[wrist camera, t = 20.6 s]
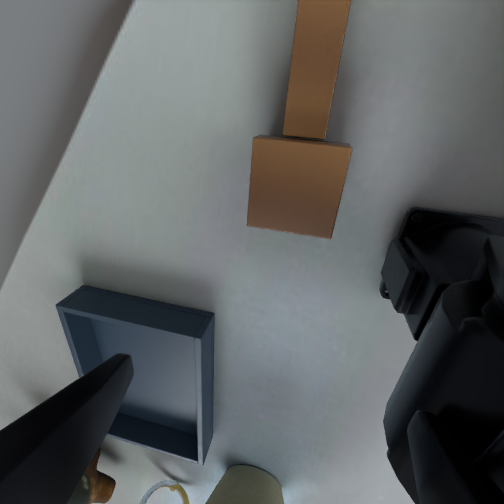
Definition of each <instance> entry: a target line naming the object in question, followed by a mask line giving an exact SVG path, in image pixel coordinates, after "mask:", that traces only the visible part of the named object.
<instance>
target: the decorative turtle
mask: <svg viewBox="0 0 504 504" xmlns="http://www.w3.org/2000/svg"><path fill="white" fill-rule="evenodd" d="M99 456H100V447H99V449H98V450H97V452H96V454H95V456H94V458H93V459H92V461H91V463H90V465H89V466H88V468H87V470H86V472H85V473H84V475H83V477H82V479H81V481H80V482H79V484H78V486H77V488H76V489H75V491H74V493H73V495H72V496H71V498H70V500H69V502H68V504H91V503H106V502H108V501H109V500H110V498H111V497H112V494H113V491H114V488H115V485H116V482H115V480H114V479H113V478H111V477H110V476H108V475H106V474H104V473H102V472H100V471H98V470H97V463H98V459H99Z"/></svg>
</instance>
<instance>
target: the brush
mask: <svg viewBox="0 0 504 504" xmlns="http://www.w3.org/2000/svg"><path fill="white" fill-rule="evenodd" d="M350 3H351V0H298V8H297V16H296V24H295V33H294V41H293V50H292V58H291V67H290V75H289V83H288V92H287V100H286V109H285V117H284V125H283V135H284V136H294V137H303V138H313V139H323V140H324V139H325V136H326V131H327V126H328V120H329V115H330V110H331V105H332V99H333V94H334V89H335V83H336V78H337V73H338V67H339V62H340V57H341V51H342V46H343V41H344V35H345V30H346V25H347V19H348V14H349V9H350ZM351 153H352V147H351V146H350V144H346V143H336V142H326V141H317V140H307V139H297V138H288V137H278V136H268V135H258V136H256V137H254V138H253V147H252V161H251V174H250V188H249V202H248V216H247V226H250V227H257V228H263V229H269V230H276V231H282V232H288V233H294V234H301V235H307V236H313V237H320V238H326V239H331V238H332V234H333V229H334V225H335V221H336V217H337V212H338V208H339V204H340V200H341V195H342V191H343V187H344V183H345V178H346V174H347V170H348V166H349V161H350V157H351Z"/></svg>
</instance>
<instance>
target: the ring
mask: <svg viewBox="0 0 504 504" xmlns="http://www.w3.org/2000/svg"><path fill="white" fill-rule="evenodd" d="M162 487H170V490H171V491H175V490H176V491H177V492H178V493H179V495H180V496H181V499H182V502H183V504H189V500H188V496H187V494H186V492H185V490H184V489H183V487H182V486H181V485H180V484H179V482H178V481H177V480H174V481H172V480H164V481H161V482H158V483H157V484H155V485H154V486H152V487H151V488H150V489H149V490H148V491H147V492H146V494H145V495H144V496H143V498H142V500H141V501H140V503H139V504H145V503H146V501H147V499H148V498H149V496H150V495H151V494H152V493H153V492H154V491H155V490H157V489H159V488H162Z"/></svg>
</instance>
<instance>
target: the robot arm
mask: <svg viewBox="0 0 504 504" xmlns="http://www.w3.org/2000/svg"><path fill="white" fill-rule="evenodd" d="M416 213H419V214H420V216H419V218H417V219H412V218H413V215H414V214H416ZM381 274H382V277H383V280H382V283H381V286H380V290H379V291H380V294H381V296H382V297H383V298H386V299H391V301H392V304H393V307H394V309H395V310H396V311H397V313H402V314H404V316H405V318H406V321H407V323H408V326H409V328H410V331H411V333H412V336H413V338H414V339H415V340H416V341H418V342H417V344H416V346H415V348H414V350H413V352H412V354H411V356H410V358H409V360H408V362H407V364H406V366H405V368H404V370H403V372H402V374H401V376H400V378H399V380H398V382H397V384H396V386H395V388H394V390H393V392H392V394H391V396H390V398H389V400H388V402H387V405H386V410H385V415H384V420H383V423H384V429H385V435H386V441H387V446H388V448H389V449H388V451H387V457H388V459H389V461H390V463H391V466H392V468H393V470H394V472H395V474H396V476H397V478H398V479H399V481H400V482H401V484H402V485H403V487H404V488H405V490H406V491H407V493H408V494H409V495H410V497H411V498H412V500H413V501H414V503H415V504H504V219H502V218H495V217H487V216H480V215H472V214H465V213H457V212H450V211H442V210H435V209H428V208H420V207H414V208H412V209H410V210H409V211H408V212H407V214H406V217H405V219H404V222H403V225H402V228H401V231H400V233H399V236H398V238H395V239H394V240H392V242H391V245H390V248H389V251H388V254H387V257H386V259H385V262H384V265H383V268H382V271H381ZM386 290H387V291H388V293H386V292H385V291H386ZM133 376H134V367H133V362H132V357H131V355H130V354H125V353H117V354H115V355H113V356H112V357H110V358H109V359H107V360H106V361H104V362H103V363H101V364H100V365H98V366H97V367H95V368H94V369H92V370H91V371H89V372H88V373H86V374H85V375H83V376H82V377H80V378H79V379H77V380H76V381H74V382H73V383H71V384H70V385H68V386H67V387H65V388H64V389H62V390H61V391H59V392H58V393H56V394H55V395H53V396H52V397H50V398H49V399H47V400H46V401H44V402H43V403H41V404H40V405H38V406H37V407H35V408H34V409H32V410H31V411H29V412H28V413H26V414H25V415H23V416H22V417H20V418H19V419H17V420H16V421H14V422H13V423H11V424H10V425H8V426H6V427H5V428H3V429H2V430H0V504H68V502H69V500H70V498H71V496H72V495H73V493H74V491H75V489H76V488H77V486H78V484H79V482H80V481H81V479H82V477H83V475H84V473H85V472H86V470H87V468H88V466H89V465H90V463H91V461H92V459H93V458H94V456H95V454H96V452H97V450H98V449H99V447H100V445H101V443H102V442H103V440H104V438H105V436H106V435H107V433H108V431H109V429H110V427H111V425H112V423H113V421H114V419H115V417H116V415H117V412H118V410H119V408H120V406H121V403H122V401H123V399H124V397H125V394H126V392H127V390H128V388H129V386H130V383H131V381H132V379H133Z"/></svg>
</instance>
